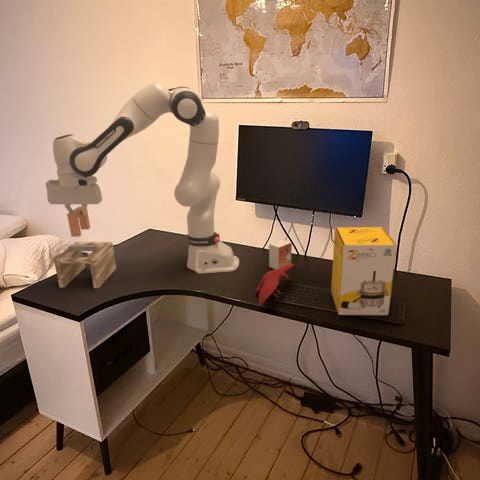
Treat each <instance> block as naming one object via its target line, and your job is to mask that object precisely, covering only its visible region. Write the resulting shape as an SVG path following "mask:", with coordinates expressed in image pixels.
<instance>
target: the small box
mask: <svg viewBox="0 0 480 480" xmlns="http://www.w3.org/2000/svg"><path fill="white" fill-rule="evenodd" d="M292 244H293V243H292V242H291V241H288V240H285V239H280V240H277V241H275V242H273V243H269V244H268V245H269V246H268V247H269V248H268V250H269V253H268V255H269V256H268V258H269V259H268V264H269V266H268V267H269V268H271V269H272V270H275V269H279V268H280V267H282V266H286V265H290V264H292V247H293V246H292Z"/></svg>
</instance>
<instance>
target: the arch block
mask: <svg viewBox="0 0 480 480" xmlns="http://www.w3.org/2000/svg"><path fill="white" fill-rule="evenodd" d="M82 209H83V207H82V206H81V205H80V206H77V207H76V208H75V209H72V210H73V211H71V212H70V213H69V212H68V213H66V216H67V221H68V226H69V232H70V236H71V237H73V238H74V237H75V238H76V237H77V238H78V237H81V236H82V232H81V231H82V230H90V228H91V223H90V219H89V218H90V217H89V213H88V208H86V210H85V211H86V215H80V211H81V210H82Z"/></svg>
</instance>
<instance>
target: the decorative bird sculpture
mask: <svg viewBox="0 0 480 480" xmlns="http://www.w3.org/2000/svg"><path fill="white" fill-rule="evenodd" d="M295 266H296V263H291V264H290V265H286V266H282V267H280V268H279V269H272V270H270V271H267V272H266V273H265V274H264V275H263V276H262V278H261V281H260V283H259V284H258V286H257V288H256V289H255V294H258V296H259V297H258V303H257V304H258V305H259V307H261V306H262V305H263V304H264V303H266V301H267V299H268V298H269V297H270V296H271V295H274V296H276V298H280V295H281V294H282V293H283V291H279V290H278V285H279V284H280V281H281V280H282V279H283V278H285V279H286V280H289V275H288V274H287V273H289V272H290V271H291V270H292V269H293V267H295ZM274 291H277V292H278V294H279V295H277V294H276V293H275V292H274Z"/></svg>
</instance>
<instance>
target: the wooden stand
mask: <svg viewBox="0 0 480 480" xmlns="http://www.w3.org/2000/svg"><path fill="white" fill-rule="evenodd" d="M83 252H91V253H90V254H88V256H83ZM116 263H117V262H116V259H115V251H114V246H113V242H112V241H108V242H107V241H75V242H74V243H73V244H69V245H68V246H67V248H66V249H65V250H63V251H62V252H61V253H60V254H58V255H57V256H56V257H55V258H54V259H53V264H54V267H55V272H56V273H55V274H56V277H57V282H58V286H59V288H66V287H67V286H68V285H69V284H70V283H71V282H72V281H73V280H74V279H76V277H77V276H78V275H79V274H80V273H81V272H83V270H84V269H85V268H86V265H85V264H89V267H90V268H89V269H90V274H91V279H92V284H93V285H92V286H93V289H100V288H101V286H102V285H103V284H104V283H105V282H106V281H107V279H108V278H109V277H110V276H111V275H112V274H113V273H114V271H115V270H116V269H117V264H116Z"/></svg>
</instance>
